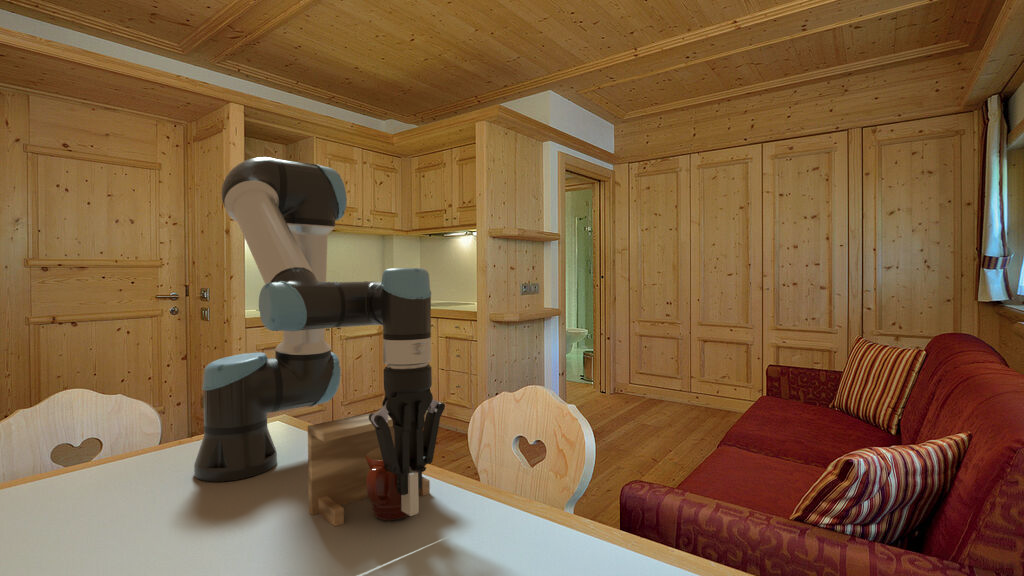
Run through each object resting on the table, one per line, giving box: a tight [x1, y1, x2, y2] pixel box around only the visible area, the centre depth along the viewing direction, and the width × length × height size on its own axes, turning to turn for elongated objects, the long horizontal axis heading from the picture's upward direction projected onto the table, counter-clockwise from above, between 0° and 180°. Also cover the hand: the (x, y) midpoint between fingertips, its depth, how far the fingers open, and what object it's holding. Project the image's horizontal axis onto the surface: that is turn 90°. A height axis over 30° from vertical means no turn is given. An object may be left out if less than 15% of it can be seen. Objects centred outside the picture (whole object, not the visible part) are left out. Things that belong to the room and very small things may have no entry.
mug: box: [365, 444, 411, 522], centre depth 84 cm, size 12×9×10 cm
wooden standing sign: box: [307, 411, 431, 527], centre depth 90 cm, size 8×20×15 cm, turn 133°
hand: (410, 511), depth 82 cm, fingers closed
